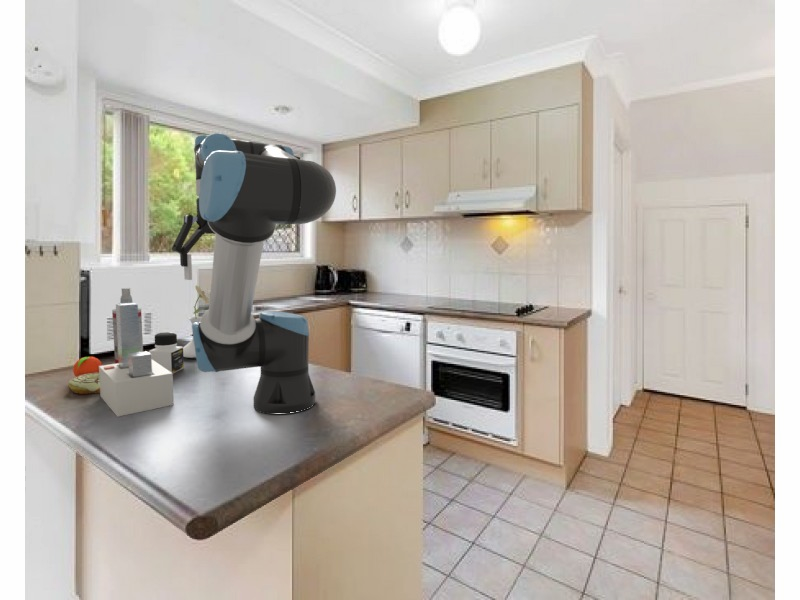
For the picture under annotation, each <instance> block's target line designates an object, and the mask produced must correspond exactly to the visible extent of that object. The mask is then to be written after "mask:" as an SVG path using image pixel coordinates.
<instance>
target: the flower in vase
mask: <svg viewBox="0 0 800 600" xmlns="http://www.w3.org/2000/svg"><path fill="white" fill-rule="evenodd" d="M194 287H195V290H196V292H197V294H198V297H197V299H196V300H195V304H194V306H193V309H194V311H193V315H194V316H191V317H188V320H189V321H190V323H191V325H192V324H193V323H194V322H197V321H201V317H202V316H197V314H199V313H200V312H201V311H202V309H200V308H199V307H198V308H197V307H196V306H197V303H198V301H199V299H201V300H202V301H203V302H204V303H205V304H207V305H209V303H210V298H208V296H207V295H206V294H205V293H206V292H205V291H204V290H203V289H201V286H200V285H198V284H196V285H195V286H194ZM182 347H183V358H188V359H196V352H195V346H194V339H193V338H192V339H191V341H189V342H188V343H187V344H186V345H184V346H182Z"/></svg>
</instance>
